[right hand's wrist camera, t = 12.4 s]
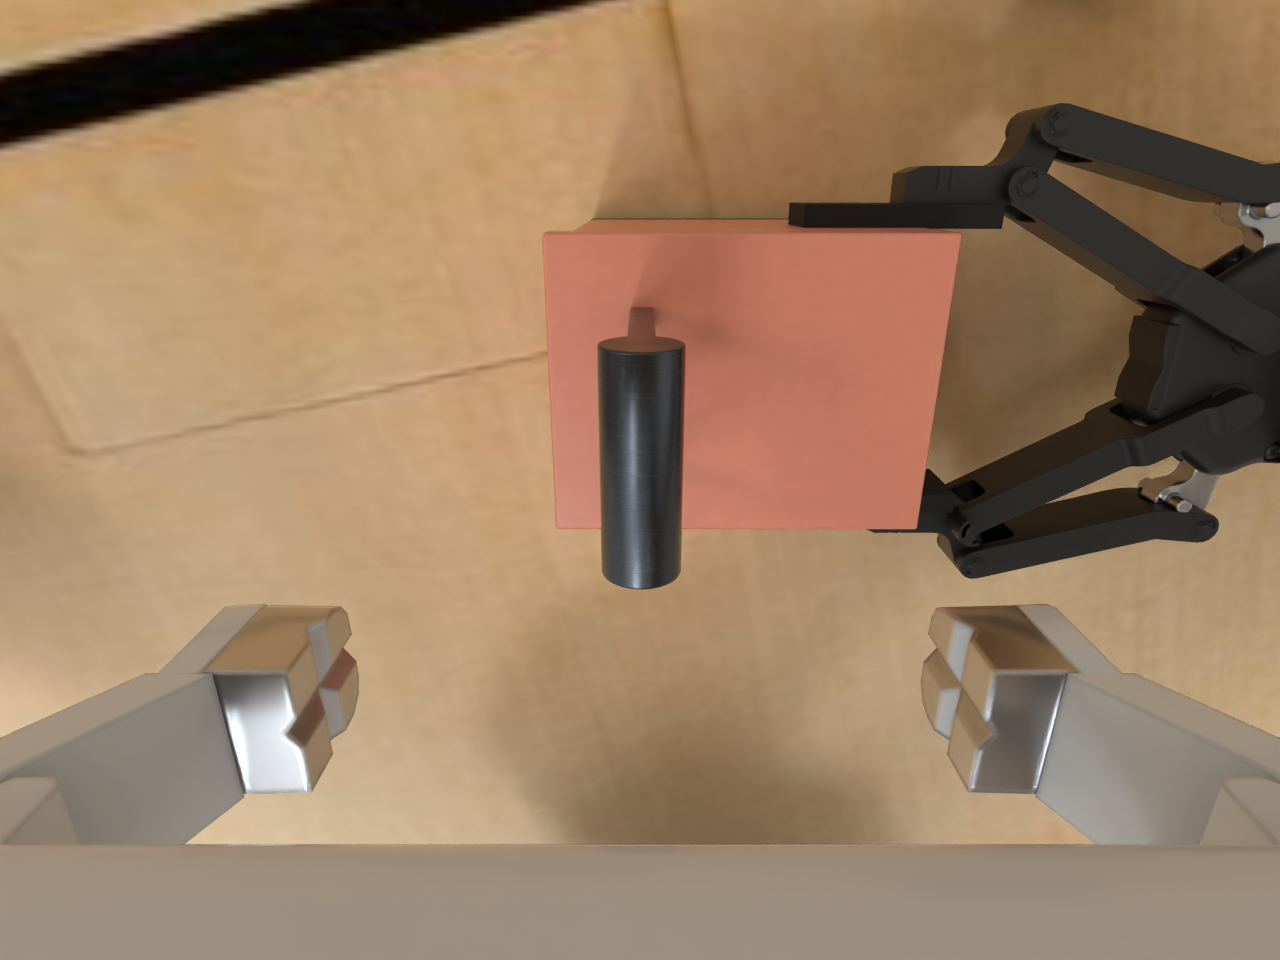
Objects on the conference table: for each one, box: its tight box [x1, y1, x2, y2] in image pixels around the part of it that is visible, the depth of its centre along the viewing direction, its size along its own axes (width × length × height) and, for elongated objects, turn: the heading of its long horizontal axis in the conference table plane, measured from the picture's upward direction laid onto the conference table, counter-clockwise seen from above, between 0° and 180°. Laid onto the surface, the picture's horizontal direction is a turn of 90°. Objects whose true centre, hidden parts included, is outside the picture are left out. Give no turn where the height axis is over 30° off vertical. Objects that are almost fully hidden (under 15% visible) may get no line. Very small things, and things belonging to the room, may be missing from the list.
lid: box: [542, 231, 962, 589], centre depth 20 cm, size 12×10×8 cm
